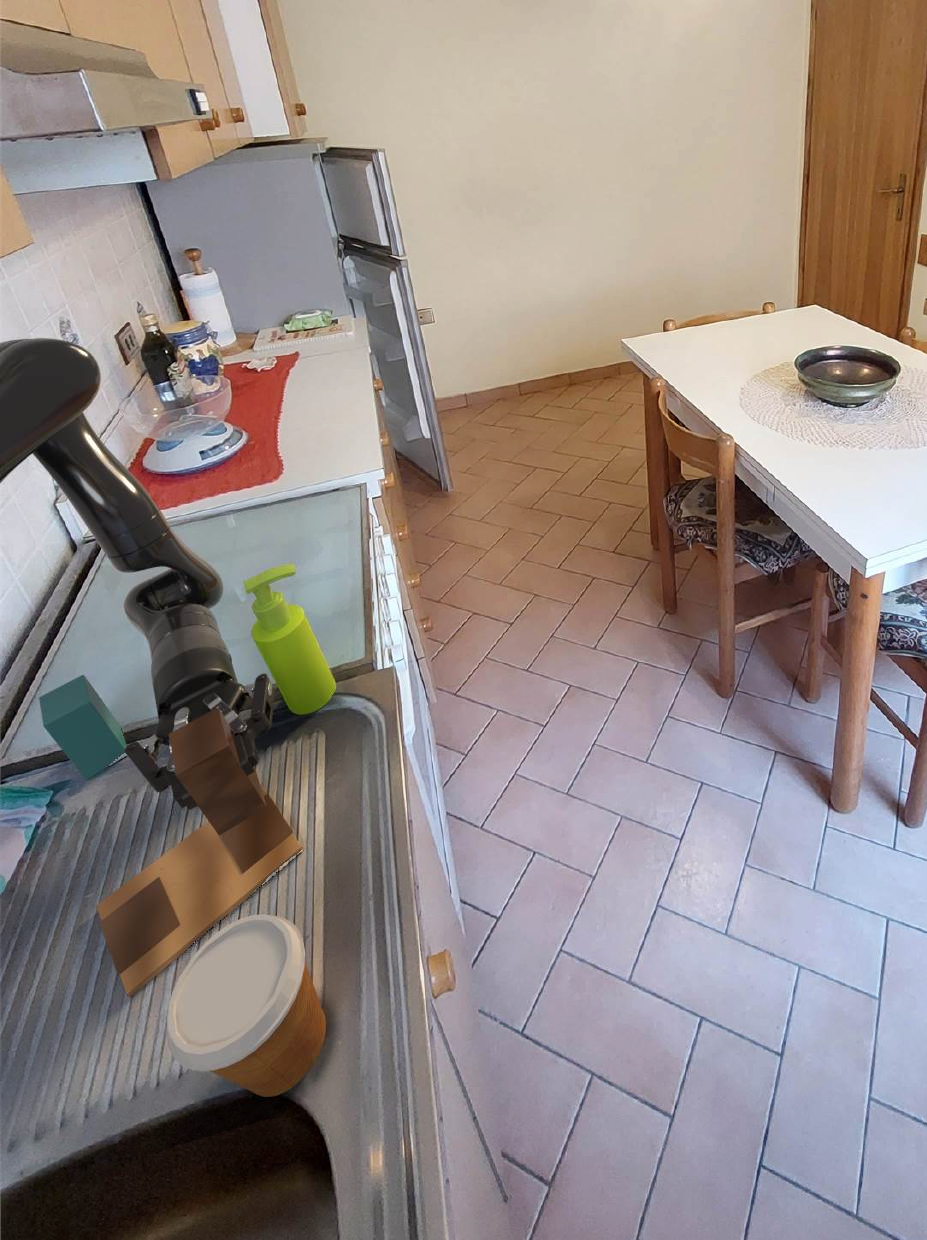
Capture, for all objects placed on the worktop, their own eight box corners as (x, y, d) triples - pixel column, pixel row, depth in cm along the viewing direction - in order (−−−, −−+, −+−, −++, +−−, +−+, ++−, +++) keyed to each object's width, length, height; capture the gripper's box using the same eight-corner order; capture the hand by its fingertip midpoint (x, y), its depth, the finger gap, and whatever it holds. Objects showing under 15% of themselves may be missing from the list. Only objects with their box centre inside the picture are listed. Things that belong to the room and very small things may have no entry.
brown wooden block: (219, 836, 67) (175, 775, 62) (209, 794, 71) (168, 733, 66) (266, 806, 69) (228, 745, 64) (255, 767, 73) (218, 706, 68)
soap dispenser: (349, 693, 88) (297, 577, 78) (292, 723, 85) (231, 606, 75) (338, 664, 92) (288, 551, 83) (284, 691, 89) (226, 577, 80)
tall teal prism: (86, 780, 80) (43, 726, 76) (80, 750, 84) (38, 697, 79) (129, 755, 83) (89, 700, 78) (121, 727, 87) (83, 673, 82)
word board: (128, 998, 61) (124, 994, 60) (98, 910, 68) (93, 905, 67) (304, 850, 71) (302, 845, 71) (262, 785, 78) (260, 781, 77)
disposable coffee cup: (271, 1156, 51) (208, 1096, 45) (199, 1078, 56) (132, 1013, 50) (369, 1013, 58) (325, 945, 53) (298, 954, 63) (250, 885, 57)
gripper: (103, 688, 72) (113, 813, 60) (248, 617, 79) (284, 715, 67) (135, 733, 75) (151, 859, 63) (271, 661, 83) (309, 762, 70)
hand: (219, 784), depth 65 cm, fingers closed on brown wooden block, 4 cm apart
